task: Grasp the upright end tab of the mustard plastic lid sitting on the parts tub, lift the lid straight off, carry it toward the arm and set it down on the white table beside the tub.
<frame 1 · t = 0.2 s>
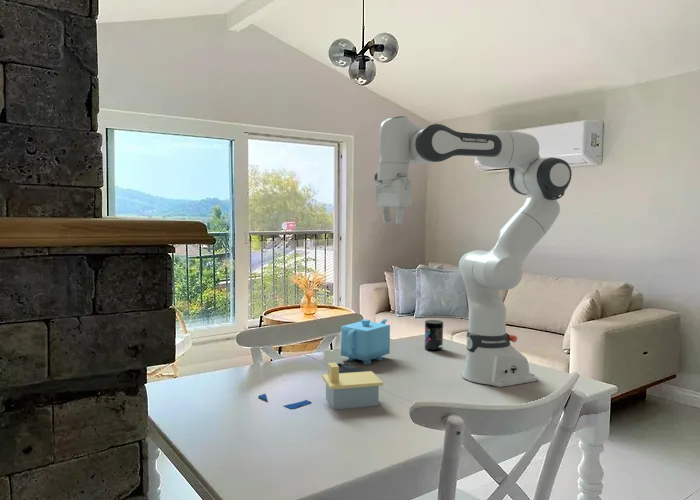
hand: (392, 223, 154), 48 cm above the table, fingers open, 8 cm apart
tub: (351, 403, 142), on the table
teapot: (368, 358, 186), on the table
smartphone: (284, 403, 144), on the table
lid: (351, 381, 142), point 6 cm above the table, touching tub
supplement container: (433, 349, 199), on the table
electronic device: (353, 380, 163), on the table
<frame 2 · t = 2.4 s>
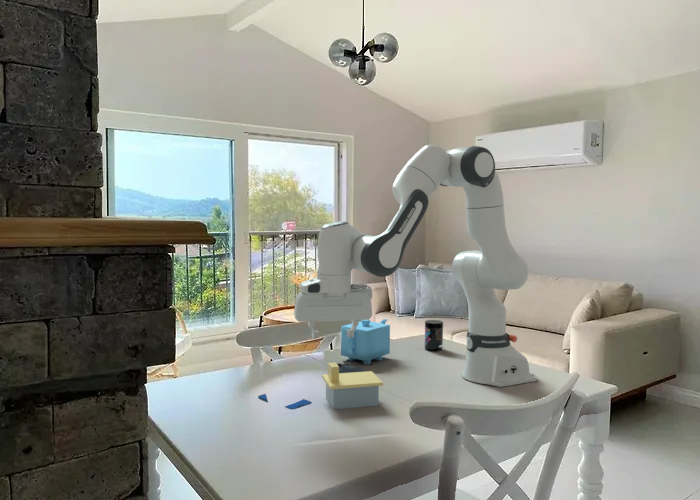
hand: (333, 337, 139), 18 cm above the table, fingers open, 8 cm apart
nothing on the table moved.
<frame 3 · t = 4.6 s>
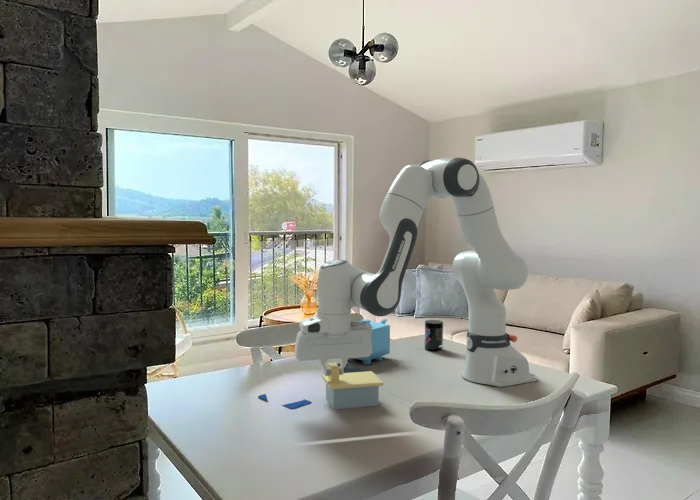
hand: (333, 374, 140), 8 cm above the table, fingers closed on lid
lid: (351, 381, 142), point 6 cm above the table, touching gripper, tub
everything else where it was.
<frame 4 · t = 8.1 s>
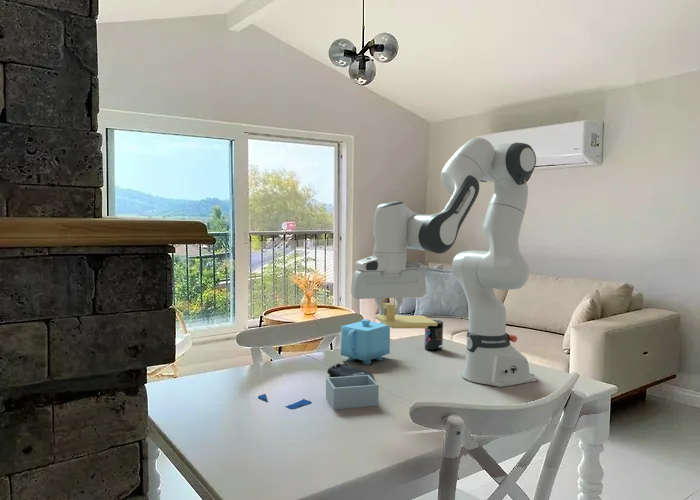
hand: (388, 314, 143), 24 cm above the table, fingers closed on lid, 2 cm apart
lid: (405, 321, 144), point 21 cm above the table, touching gripper
everything else where it was.
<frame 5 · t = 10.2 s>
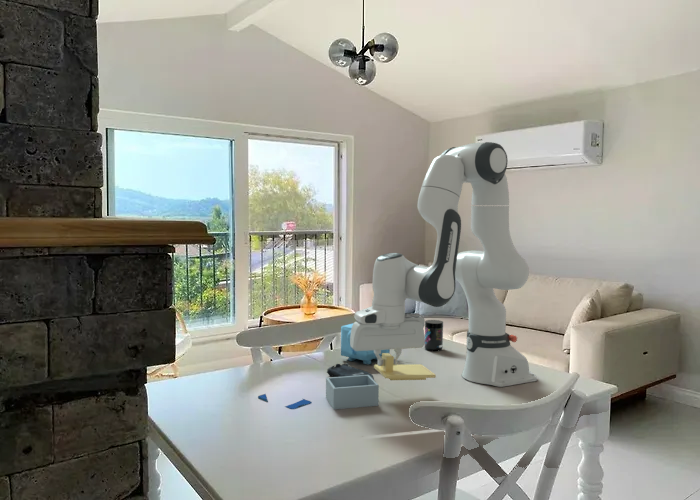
hand: (387, 365, 144), 10 cm above the table, fingers closed on lid, 2 cm apart
lid: (404, 372, 145), point 7 cm above the table, touching gripper
everything else where it was.
when the fingers open (5 cm above the table, at t = 12.0 s): lid drops 1 cm, point 1 cm above the table.
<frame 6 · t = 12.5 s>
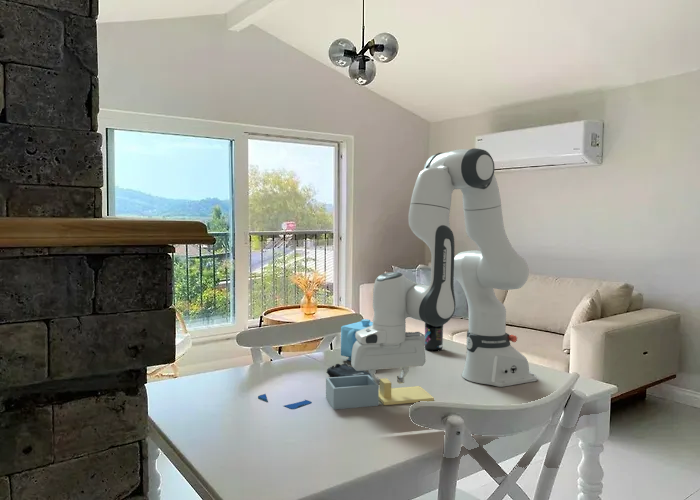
hand: (388, 383, 144), 5 cm above the table, fingers open, 6 cm apart
lid: (402, 396, 146), point 1 cm above the table
everything else where it was.
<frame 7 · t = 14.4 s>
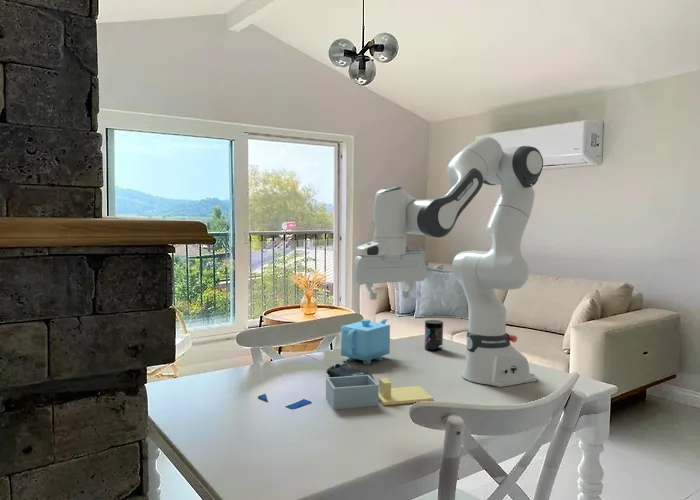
hand: (389, 298, 146), 27 cm above the table, fingers open, 8 cm apart
nothing on the table moved.
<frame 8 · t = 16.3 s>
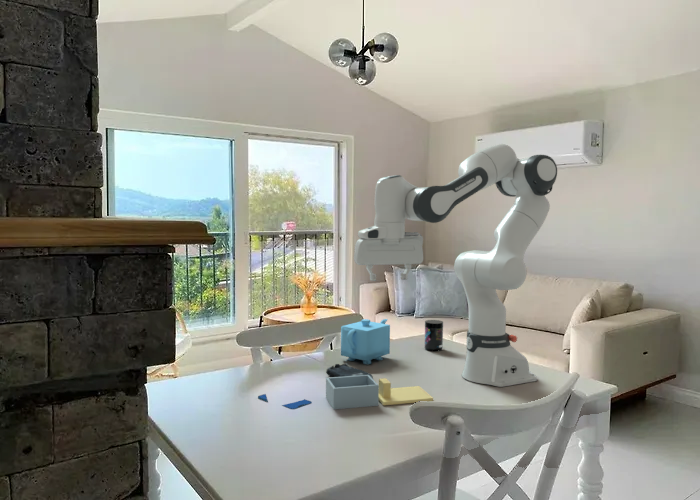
hand: (388, 280, 155), 31 cm above the table, fingers open, 8 cm apart
nothing on the table moved.
at the end: lid inside the target area (0.8 cm from its centre), point 0.7 cm above the table; lid touching table; the gripper is holding nothing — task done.
